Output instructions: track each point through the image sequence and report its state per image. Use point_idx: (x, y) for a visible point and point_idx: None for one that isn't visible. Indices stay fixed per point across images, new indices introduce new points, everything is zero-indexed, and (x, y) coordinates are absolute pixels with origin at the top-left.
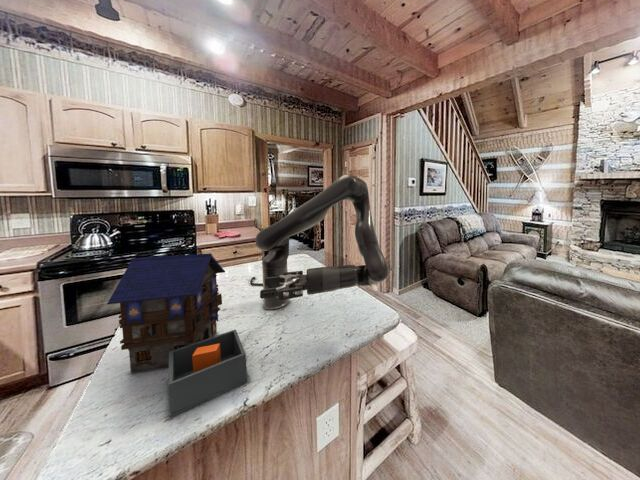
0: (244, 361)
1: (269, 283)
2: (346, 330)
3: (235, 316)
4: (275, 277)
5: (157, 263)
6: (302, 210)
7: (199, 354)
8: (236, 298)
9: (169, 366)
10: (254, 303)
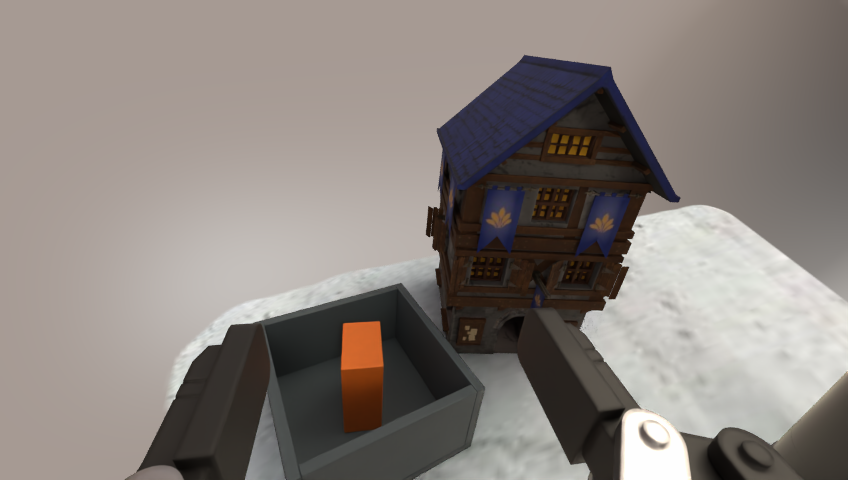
0: None
1: (534, 369)
2: None
3: (664, 371)
4: (578, 378)
5: (526, 74)
6: None
7: (342, 336)
8: (758, 341)
9: (335, 301)
10: (771, 403)
